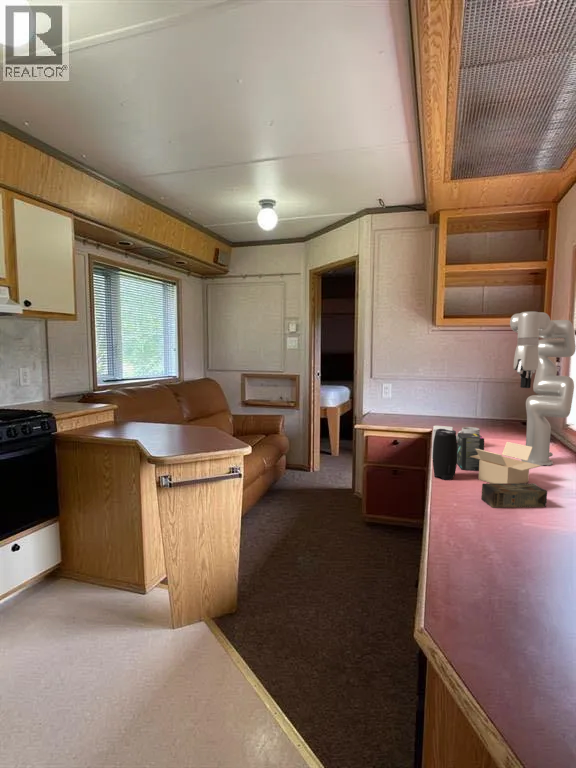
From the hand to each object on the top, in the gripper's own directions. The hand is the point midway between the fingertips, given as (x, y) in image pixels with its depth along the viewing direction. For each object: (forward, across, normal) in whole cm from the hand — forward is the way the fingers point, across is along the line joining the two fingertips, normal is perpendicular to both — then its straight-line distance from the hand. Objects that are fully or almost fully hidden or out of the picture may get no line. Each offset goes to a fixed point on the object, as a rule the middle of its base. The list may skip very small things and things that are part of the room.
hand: (525, 387), depth 165 cm
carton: (+37, +12, 0) cm, 39 cm away
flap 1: (+26, +21, 0) cm, 33 cm away
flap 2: (+26, +4, 0) cm, 26 cm away
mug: (+37, -27, -45) cm, 64 cm away
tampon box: (+37, +7, -19) cm, 43 cm away
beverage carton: (+38, +32, +16) cm, 52 cm away
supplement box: (+37, +4, -36) cm, 52 cm away
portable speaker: (+37, +29, -15) cm, 49 cm away
